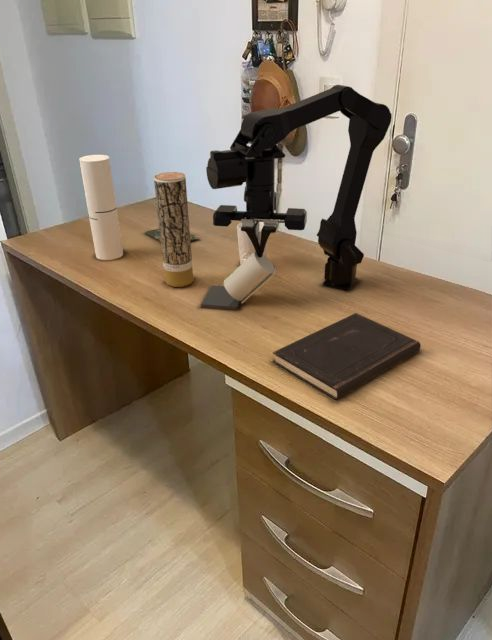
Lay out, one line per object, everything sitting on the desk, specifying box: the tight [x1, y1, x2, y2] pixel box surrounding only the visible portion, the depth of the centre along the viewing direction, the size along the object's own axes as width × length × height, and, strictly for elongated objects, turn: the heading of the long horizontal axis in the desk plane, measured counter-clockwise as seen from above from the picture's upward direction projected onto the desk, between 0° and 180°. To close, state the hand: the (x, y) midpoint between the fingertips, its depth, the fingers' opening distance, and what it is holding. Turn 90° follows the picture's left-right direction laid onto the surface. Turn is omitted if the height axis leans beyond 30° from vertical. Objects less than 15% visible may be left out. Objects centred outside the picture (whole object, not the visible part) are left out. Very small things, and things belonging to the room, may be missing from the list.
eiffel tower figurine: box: [144, 228, 198, 242], centre depth 156 cm, size 15×10×13 cm
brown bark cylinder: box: [153, 171, 194, 288], centre depth 127 cm, size 7×7×25 cm
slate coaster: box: [200, 285, 241, 311], centre depth 125 cm, size 8×10×1 cm
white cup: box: [236, 222, 269, 266], centre depth 139 cm, size 8×8×10 cm
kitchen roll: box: [223, 251, 277, 304], centre depth 121 cm, size 10×6×6 cm
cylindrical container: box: [78, 154, 124, 261], centre depth 142 cm, size 7×7×25 cm
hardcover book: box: [272, 312, 422, 400], centre depth 103 cm, size 16×23×2 cm
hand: (260, 256), depth 118 cm, fingers closed
